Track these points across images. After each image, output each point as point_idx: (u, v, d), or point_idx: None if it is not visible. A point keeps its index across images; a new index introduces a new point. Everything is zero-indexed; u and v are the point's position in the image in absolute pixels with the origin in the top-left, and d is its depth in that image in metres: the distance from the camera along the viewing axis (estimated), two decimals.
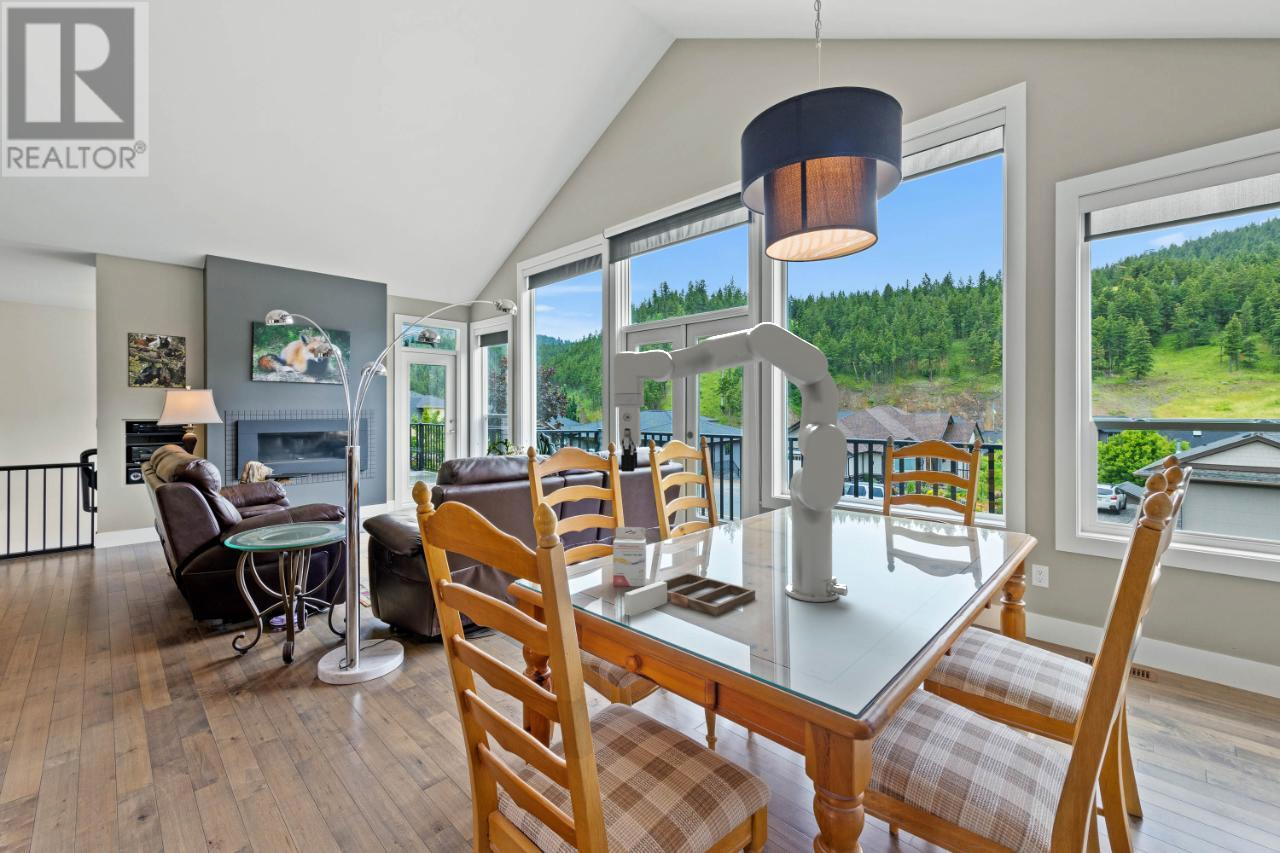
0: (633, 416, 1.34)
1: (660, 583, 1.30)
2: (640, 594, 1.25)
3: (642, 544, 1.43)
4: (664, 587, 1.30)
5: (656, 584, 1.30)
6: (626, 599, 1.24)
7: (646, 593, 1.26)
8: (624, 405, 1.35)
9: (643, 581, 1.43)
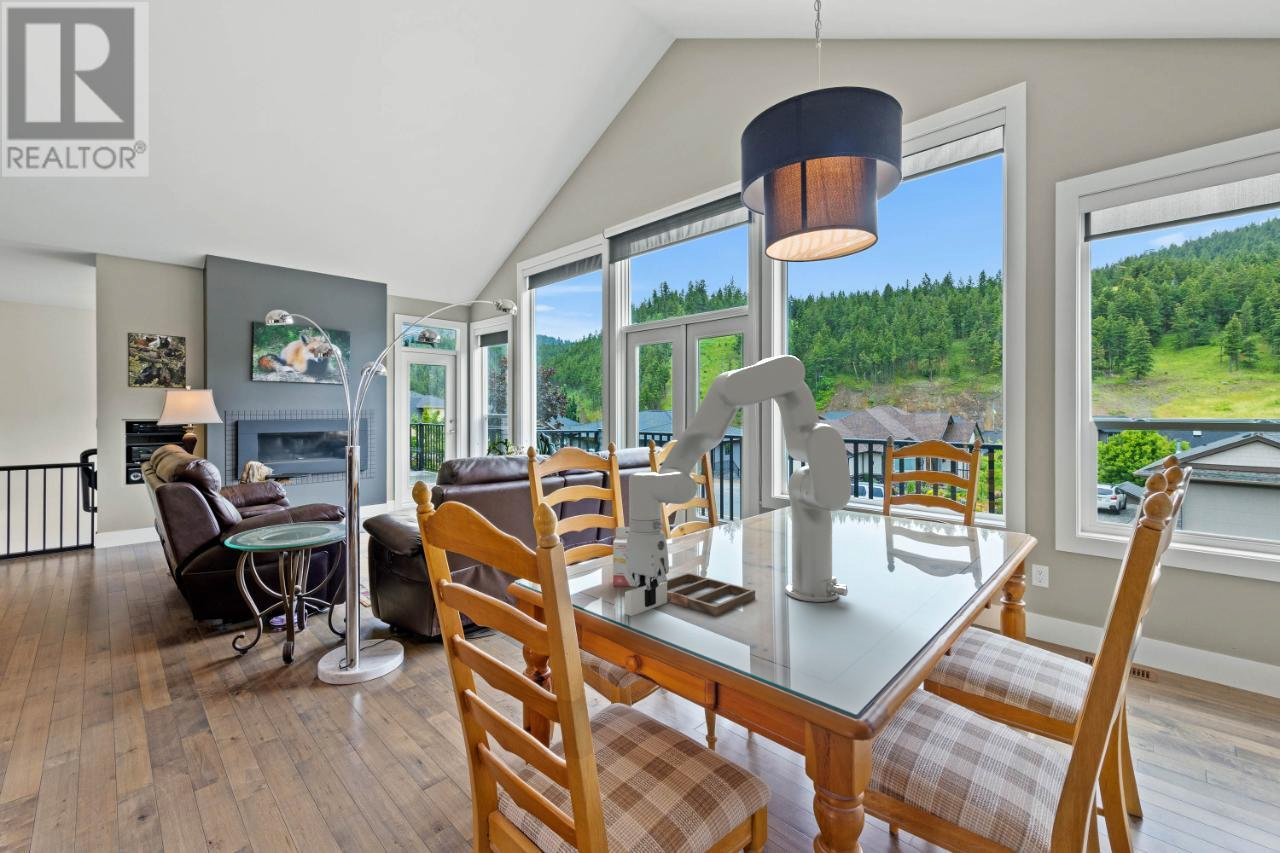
0: (665, 543, 1.25)
1: (660, 583, 1.30)
2: (641, 593, 1.25)
3: None
4: (664, 586, 1.30)
5: None
6: (626, 598, 1.24)
7: None
8: (654, 532, 1.24)
9: None
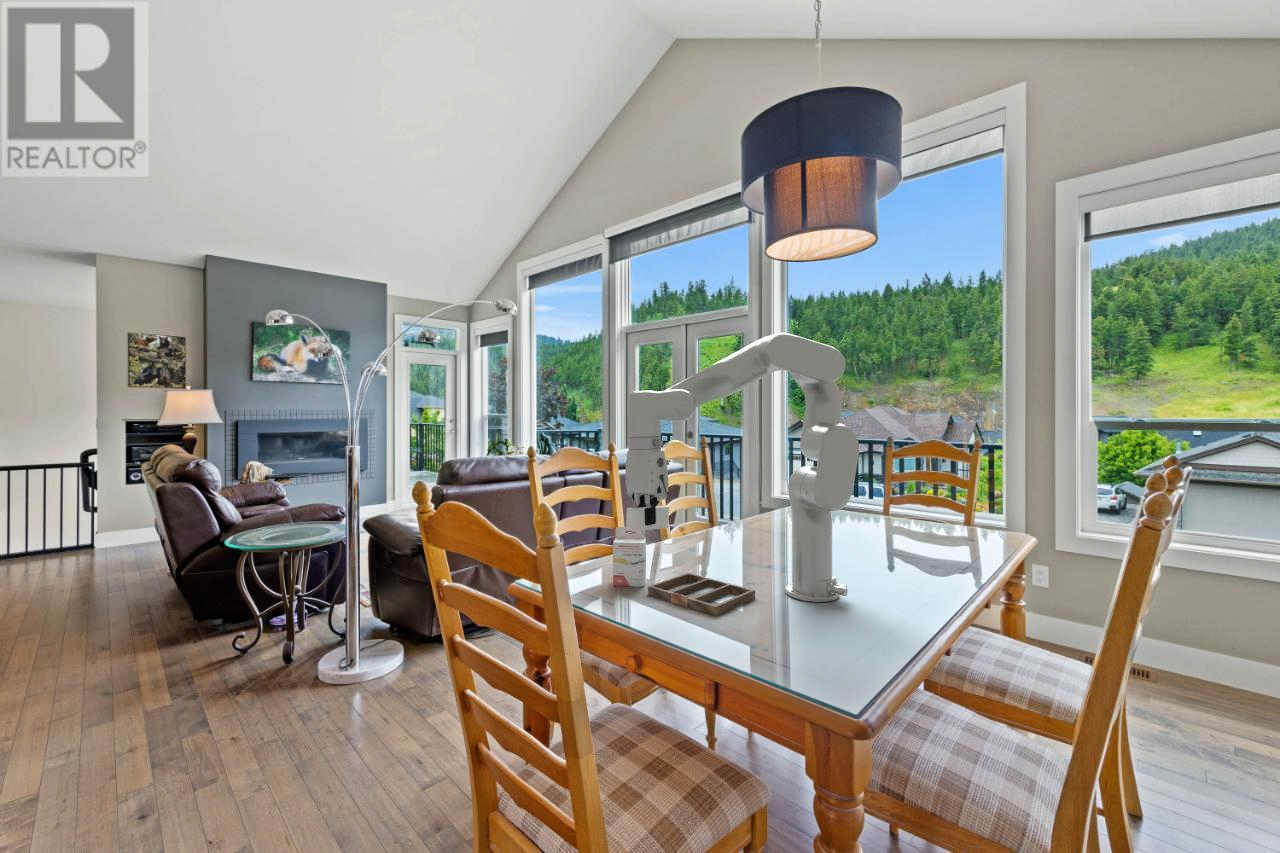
0: (664, 461, 1.24)
1: (662, 506, 1.30)
2: (642, 511, 1.25)
3: (642, 544, 1.43)
4: (666, 510, 1.30)
5: (658, 506, 1.30)
6: (628, 514, 1.24)
7: None
8: (654, 449, 1.23)
9: (643, 581, 1.43)
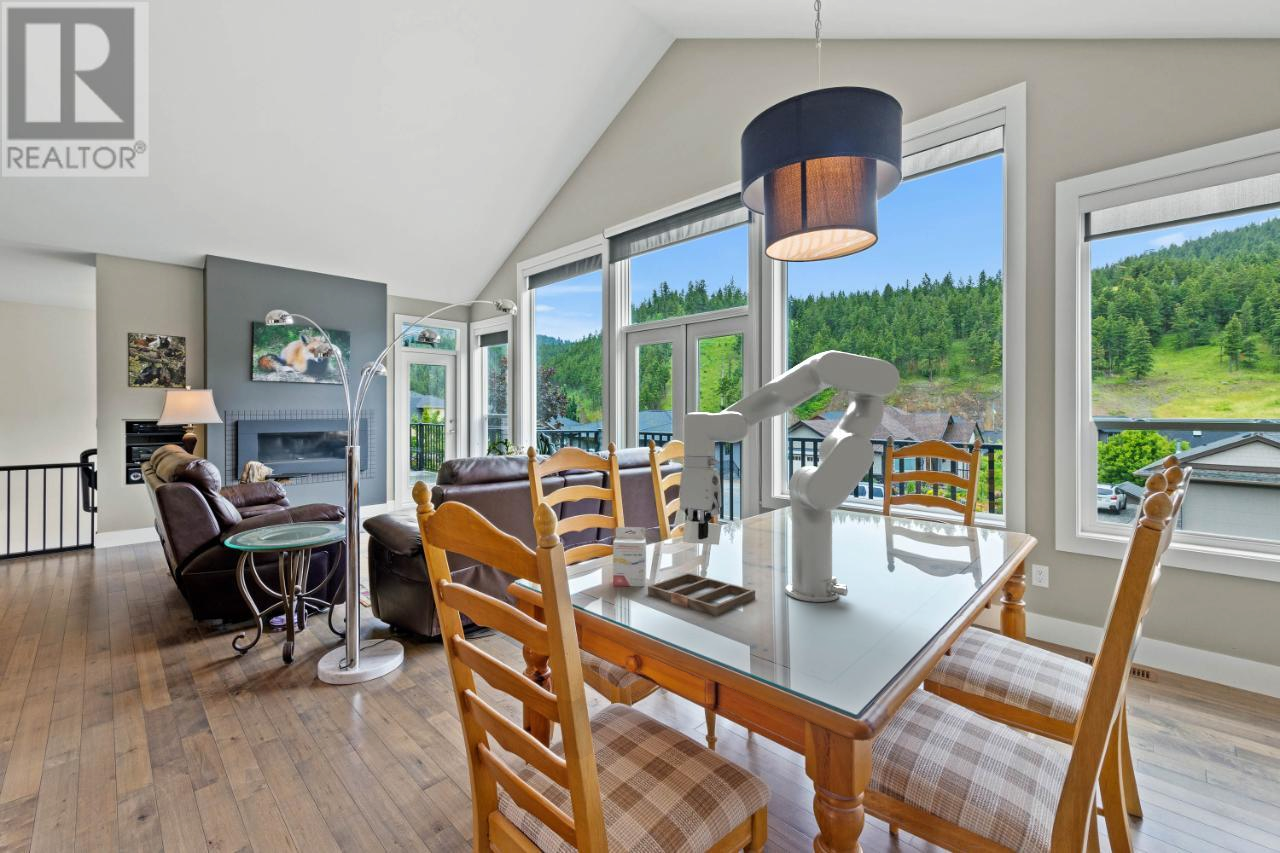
0: (718, 479, 1.32)
1: (715, 524, 1.39)
2: None
3: (642, 544, 1.43)
4: (718, 528, 1.39)
5: (712, 523, 1.39)
6: (686, 526, 1.32)
7: None
8: (709, 468, 1.31)
9: (643, 581, 1.43)
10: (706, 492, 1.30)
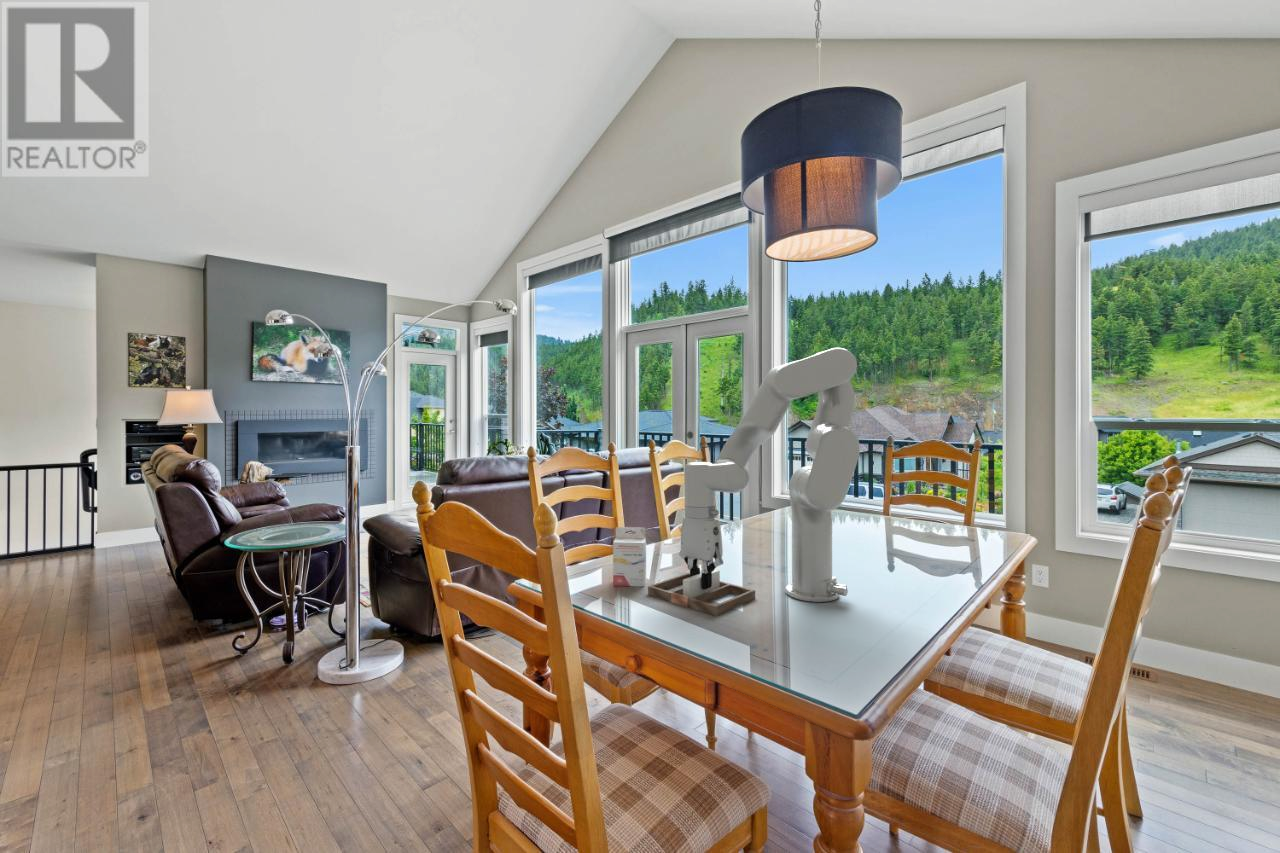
0: (719, 529, 1.33)
1: (713, 571, 1.38)
2: (697, 581, 1.33)
3: (642, 544, 1.43)
4: (717, 574, 1.38)
5: None
6: (684, 585, 1.32)
7: None
8: (710, 518, 1.32)
9: (643, 581, 1.43)
10: (707, 543, 1.31)
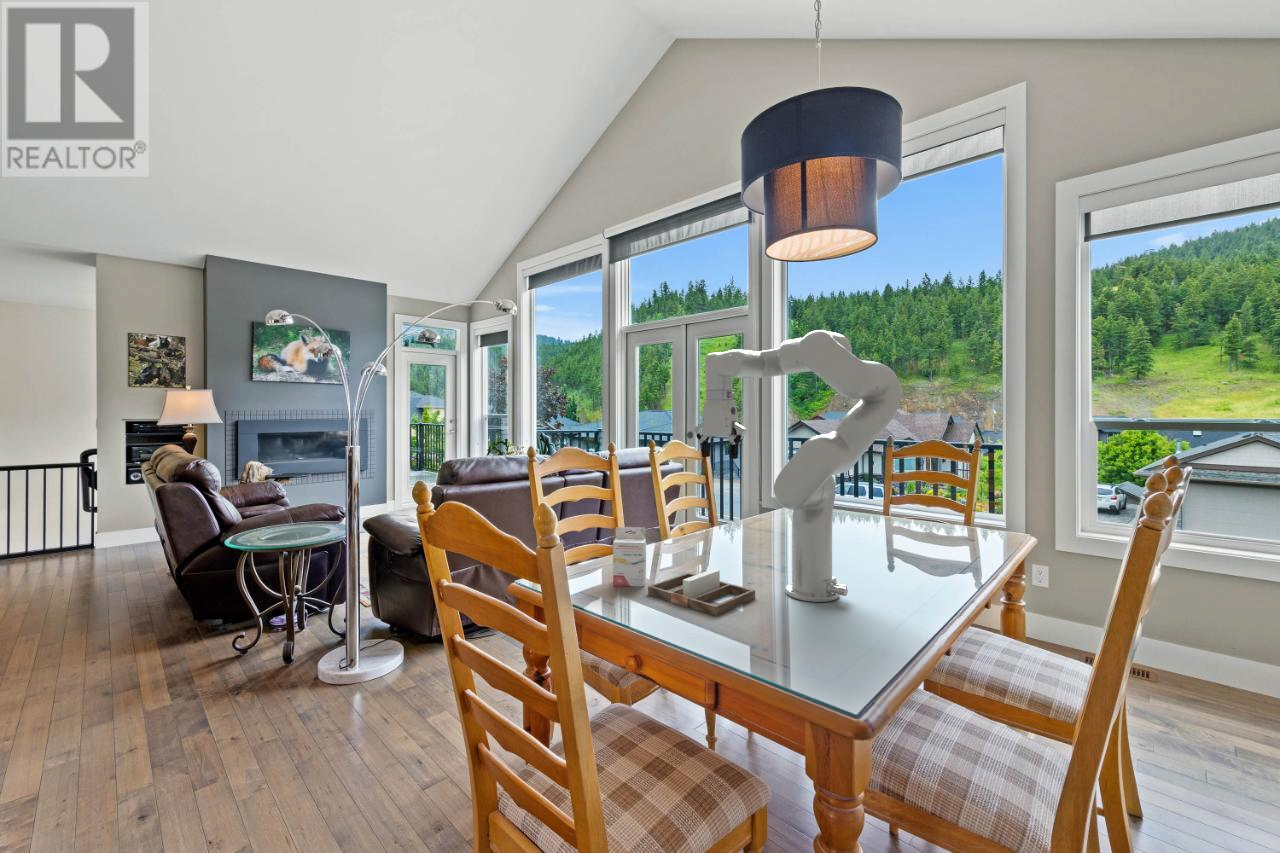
0: (736, 410, 1.52)
1: (713, 571, 1.38)
2: (697, 581, 1.33)
3: (642, 544, 1.43)
4: (717, 574, 1.38)
5: (710, 571, 1.38)
6: (684, 585, 1.32)
7: (702, 580, 1.34)
8: (728, 400, 1.51)
9: (643, 581, 1.43)
10: (726, 420, 1.50)
